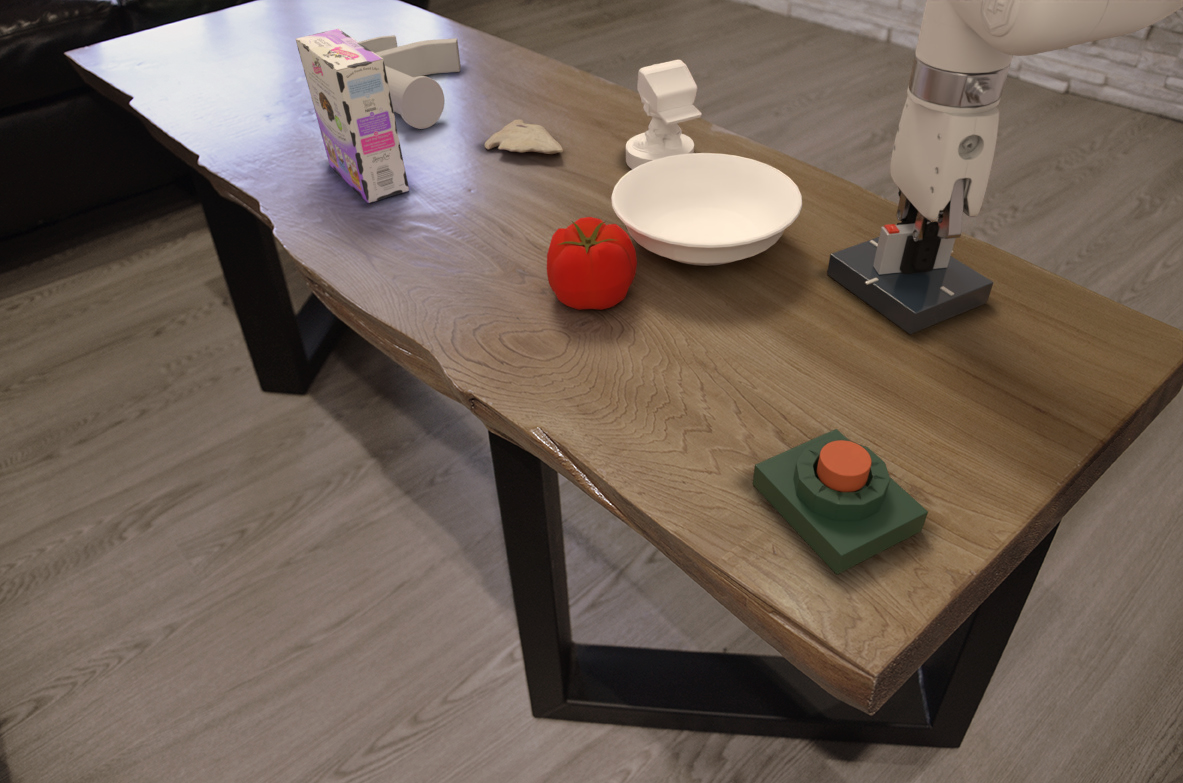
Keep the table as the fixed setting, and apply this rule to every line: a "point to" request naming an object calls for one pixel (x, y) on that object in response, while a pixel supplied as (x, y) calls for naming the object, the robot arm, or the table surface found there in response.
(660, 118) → the character figurine
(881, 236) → the grey block
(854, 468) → the button
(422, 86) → the faucet
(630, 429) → the table surface
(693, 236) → the bowl
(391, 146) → the candy box
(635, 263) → the tomato
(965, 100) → the robot arm
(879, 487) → the green button base
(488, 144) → the decorative stone
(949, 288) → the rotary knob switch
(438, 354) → the table surface
